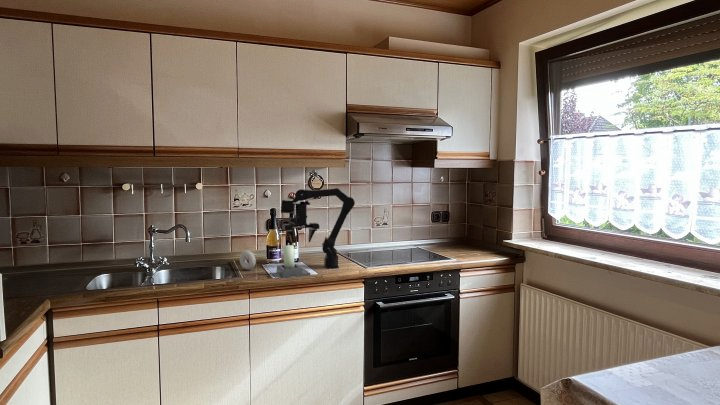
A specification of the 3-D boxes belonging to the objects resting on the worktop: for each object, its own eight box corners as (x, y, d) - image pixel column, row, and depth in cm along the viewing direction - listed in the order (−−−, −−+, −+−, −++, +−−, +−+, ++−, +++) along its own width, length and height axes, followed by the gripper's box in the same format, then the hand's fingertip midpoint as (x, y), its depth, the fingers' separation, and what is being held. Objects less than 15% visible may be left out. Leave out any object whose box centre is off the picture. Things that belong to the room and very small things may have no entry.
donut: (238, 269, 231) (238, 250, 230) (243, 268, 234) (243, 249, 233) (252, 271, 226) (252, 252, 225) (257, 270, 228) (257, 251, 228)
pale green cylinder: (290, 270, 225) (289, 244, 224) (296, 271, 222) (295, 245, 221) (282, 272, 221) (281, 246, 220) (288, 273, 218) (287, 247, 217)
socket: (303, 270, 231) (303, 262, 231) (310, 275, 221) (310, 267, 221) (276, 272, 225) (276, 264, 225) (282, 277, 215) (282, 269, 215)
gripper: (312, 211, 246) (312, 239, 248) (279, 212, 238) (279, 241, 240) (320, 213, 236) (319, 242, 238) (285, 214, 228) (285, 244, 230)
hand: (300, 242), depth 236 cm, fingers open, 9 cm apart
